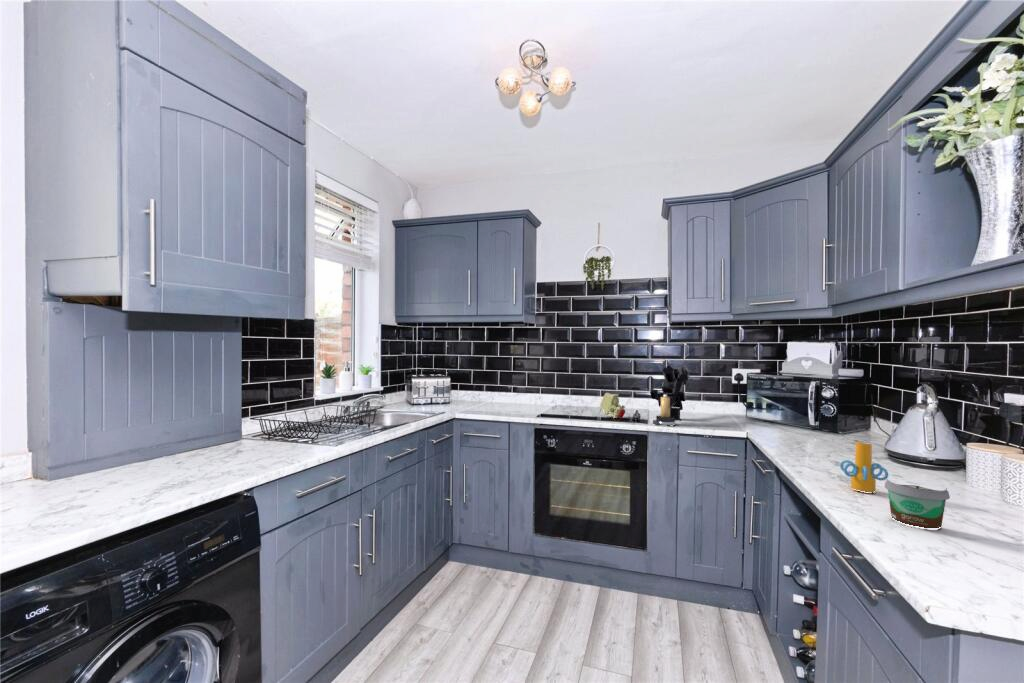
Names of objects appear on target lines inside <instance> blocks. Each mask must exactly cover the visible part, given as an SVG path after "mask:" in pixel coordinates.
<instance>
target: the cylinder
mask: <svg viewBox="0 0 1024 683" xmlns="http://www.w3.org/2000/svg"><path fill="white" fill-rule="evenodd" d="M854 444H855V446H854V462H853V461H851V460H849V459H844V460H842V461H841V462H840V463H839V468H840V470H841V471H842V472H844V474H845V475H846V476H847V477H850V489H851V488H853V489H856V490H860V491H865V492H874V491H875V490H876V485H877V482H876V480H878V481H887V479H888V478H889V472H888V469H886V468H885V467H883V466H882V465H881V464H880V463H876V462H875V463H873V462H872V461H873V454H872V453H873V444H872V442H867V441H859V440H857V441H855V443H854ZM845 463H847V464H845ZM844 464H845V465H844ZM849 467H852V469H851V470H850V471H849V470H848V468H849ZM877 469H878V470H879V471H878V473H876V474H875V470H877ZM883 473H884V476H883V477H880V476H881V475H882V474H883ZM875 492H876V491H875Z"/></svg>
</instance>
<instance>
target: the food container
mask: <svg viewBox="0 0 1024 683" xmlns="http://www.w3.org/2000/svg"><path fill="white" fill-rule="evenodd" d="M883 487H884V488H885V489H886V490H887V491H888V502H889V509H890V517H891V516H892V518H894V519H895V520H897V521H900V522H902V523H905V524H909V525H913V526H919V527H924V528H939V527H941V526H942V527H943V520H944V513H945V507H946V502H947V500H950V499H951V497H950V493H949V492H950V491H949V490H948V488H946V489H945V490H936V489H931V488H927V487H923V486H920V485H914V484H910V485H909V484H899V483H895V482H893V481H890V480H889V479H888V478H887V479H886V480H885V483H884V486H883ZM892 518H891V519H892ZM942 527H941V528H942Z"/></svg>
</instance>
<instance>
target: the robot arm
mask: <svg viewBox="0 0 1024 683" xmlns="http://www.w3.org/2000/svg"><path fill="white" fill-rule="evenodd" d="M662 373H663V377H664V380H665V381H661V388H662V389H661V391H662V392H661V391H660V390H658V389H650V391H649V393H650V397H651V399H652V400H656V401H657V402H658V407H659V408H661V397H664V395H667V397H669V398H670V416H671V417H675V421H681V420H680V419H681V411H683V408H684V407H683V402H686V398H687V397H686V393H685V391H683V387H684V386H685V385H687V384H688V383H689V381H690V372H689V371H687V370H686V369H685V367H684V366H680V365H679V366H675V367H672V365H667V366H666V367H664V368H663V369H662Z"/></svg>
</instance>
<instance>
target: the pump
mask: <svg viewBox="0 0 1024 683" xmlns="http://www.w3.org/2000/svg"><path fill="white" fill-rule="evenodd" d="M660 416H661V417H670V398H669V397H667V395H664V396H661V405H660Z"/></svg>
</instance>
